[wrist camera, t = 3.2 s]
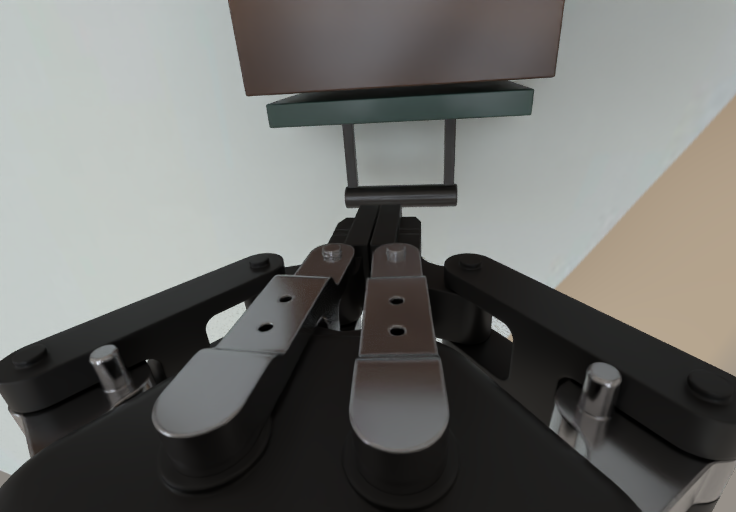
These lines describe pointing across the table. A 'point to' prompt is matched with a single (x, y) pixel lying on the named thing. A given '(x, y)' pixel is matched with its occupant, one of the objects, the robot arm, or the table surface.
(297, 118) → the drawer
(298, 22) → the cabinet
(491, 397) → the robot arm
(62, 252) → the table surface
